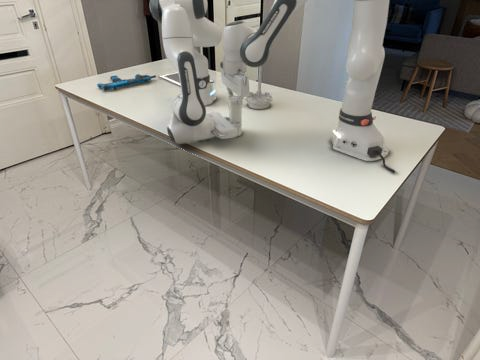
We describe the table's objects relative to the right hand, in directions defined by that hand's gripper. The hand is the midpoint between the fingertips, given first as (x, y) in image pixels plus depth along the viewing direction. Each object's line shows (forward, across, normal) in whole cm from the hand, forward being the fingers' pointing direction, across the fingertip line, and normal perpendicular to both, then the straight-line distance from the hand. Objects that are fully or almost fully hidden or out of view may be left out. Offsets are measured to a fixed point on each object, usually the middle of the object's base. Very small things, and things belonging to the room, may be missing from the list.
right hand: (235, 101), depth 140 cm
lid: (-1, 0, 0) cm, 1 cm away
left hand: (+9, 0, -1) cm, 9 cm away
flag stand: (+15, +26, -25) cm, 39 cm away
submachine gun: (+15, +94, +33) cm, 100 cm away
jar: (+15, 0, 0) cm, 15 cm away
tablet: (+15, +86, -3) cm, 87 cm away
